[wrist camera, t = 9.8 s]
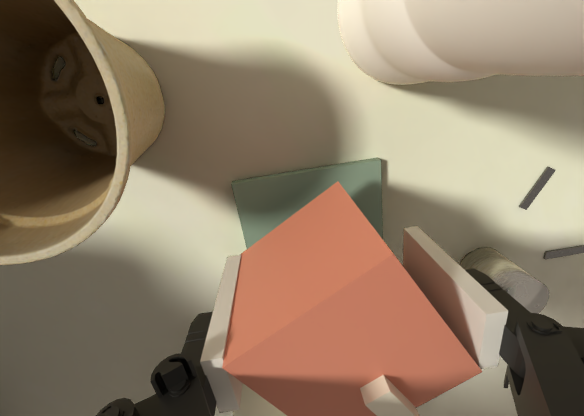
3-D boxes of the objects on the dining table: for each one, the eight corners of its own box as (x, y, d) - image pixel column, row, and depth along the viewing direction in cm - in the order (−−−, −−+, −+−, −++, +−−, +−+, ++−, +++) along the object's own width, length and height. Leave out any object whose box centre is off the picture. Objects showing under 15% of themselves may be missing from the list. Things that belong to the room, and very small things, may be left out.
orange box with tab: (240, 253, 16) (219, 385, 9) (338, 181, 15) (402, 265, 8) (311, 322, 18) (339, 469, 11) (400, 263, 17) (494, 387, 10)
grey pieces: (456, 286, 22) (494, 326, 18) (467, 179, 19) (516, 201, 15) (578, 266, 22) (640, 301, 18) (610, 156, 19) (694, 172, 15)
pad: (260, 297, 21) (259, 302, 20) (232, 181, 17) (231, 184, 17) (380, 277, 21) (383, 282, 21) (377, 157, 18) (380, 159, 17)
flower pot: (209, 26, 14) (134, -53, 6) (188, 198, 18) (122, 286, 10) (-3, -35, 13) (-443, -238, 5) (18, 165, 16) (-225, 237, 8)
